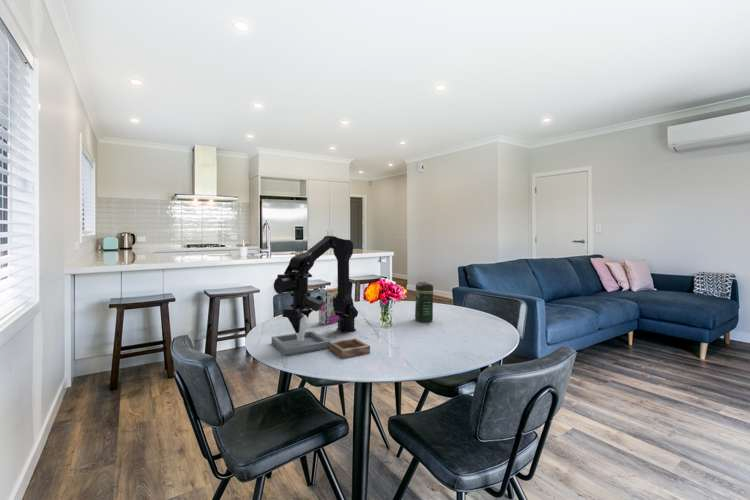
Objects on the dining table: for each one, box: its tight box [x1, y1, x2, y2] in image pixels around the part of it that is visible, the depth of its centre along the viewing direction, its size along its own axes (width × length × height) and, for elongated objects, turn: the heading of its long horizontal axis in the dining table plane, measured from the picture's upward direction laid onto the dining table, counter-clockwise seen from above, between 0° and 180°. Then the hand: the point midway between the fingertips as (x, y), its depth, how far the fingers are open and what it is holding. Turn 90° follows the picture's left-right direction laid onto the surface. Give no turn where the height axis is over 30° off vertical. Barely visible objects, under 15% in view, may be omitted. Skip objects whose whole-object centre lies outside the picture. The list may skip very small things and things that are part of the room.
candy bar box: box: [318, 286, 339, 326], centre depth 179 cm, size 11×5×16 cm, turn 144°
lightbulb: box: [295, 314, 310, 343], centre depth 144 cm, size 6×6×11 cm
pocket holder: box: [328, 337, 371, 359], centre depth 138 cm, size 11×11×2 cm
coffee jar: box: [414, 281, 434, 323], centre depth 184 cm, size 10×8×19 cm
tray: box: [271, 330, 331, 357], centre depth 144 cm, size 17×17×2 cm
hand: (300, 330), depth 144 cm, fingers closed on lightbulb, 5 cm apart
